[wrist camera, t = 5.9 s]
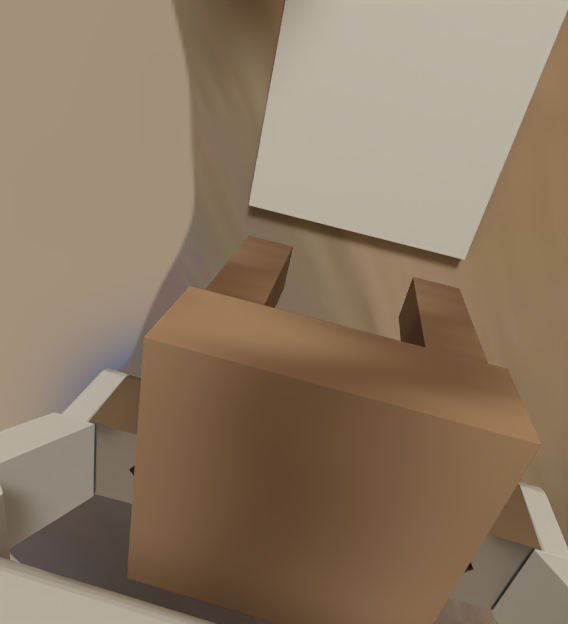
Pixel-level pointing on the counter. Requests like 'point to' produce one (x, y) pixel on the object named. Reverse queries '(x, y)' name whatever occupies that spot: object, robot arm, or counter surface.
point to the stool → (318, 452)
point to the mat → (399, 112)
